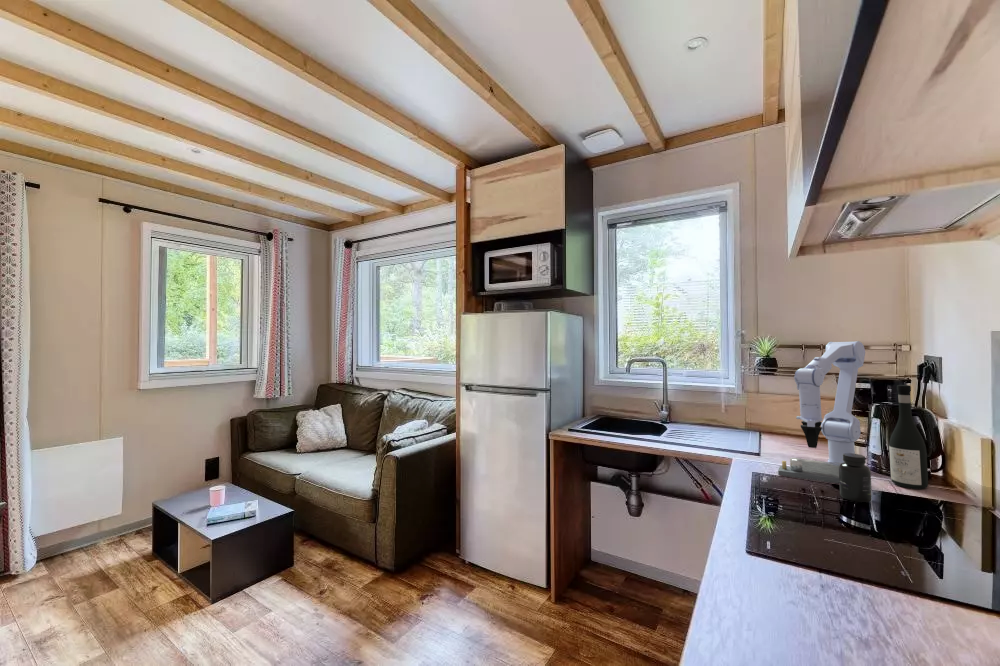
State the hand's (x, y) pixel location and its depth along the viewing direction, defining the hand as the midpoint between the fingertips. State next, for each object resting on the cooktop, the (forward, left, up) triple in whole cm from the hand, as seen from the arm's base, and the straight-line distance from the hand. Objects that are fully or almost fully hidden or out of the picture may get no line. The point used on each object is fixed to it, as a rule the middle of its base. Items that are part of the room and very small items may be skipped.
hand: (812, 445), depth 141 cm
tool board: (+5, +2, -9) cm, 11 cm away
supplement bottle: (+22, +10, -10) cm, 26 cm away
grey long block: (+5, +1, -8) cm, 9 cm away
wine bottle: (0, +23, -10) cm, 25 cm away
